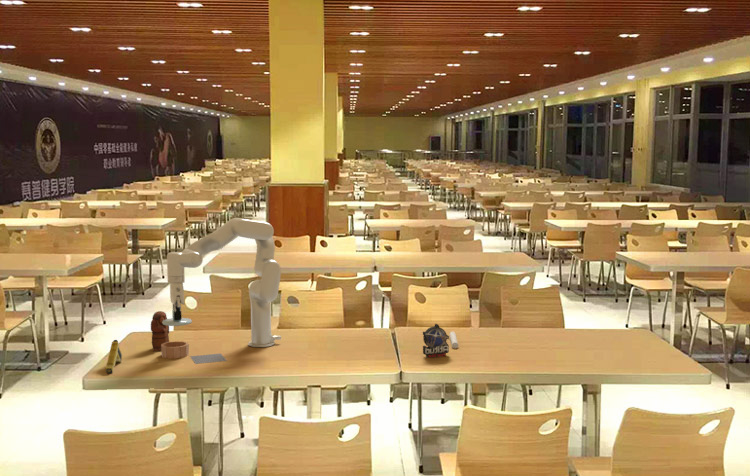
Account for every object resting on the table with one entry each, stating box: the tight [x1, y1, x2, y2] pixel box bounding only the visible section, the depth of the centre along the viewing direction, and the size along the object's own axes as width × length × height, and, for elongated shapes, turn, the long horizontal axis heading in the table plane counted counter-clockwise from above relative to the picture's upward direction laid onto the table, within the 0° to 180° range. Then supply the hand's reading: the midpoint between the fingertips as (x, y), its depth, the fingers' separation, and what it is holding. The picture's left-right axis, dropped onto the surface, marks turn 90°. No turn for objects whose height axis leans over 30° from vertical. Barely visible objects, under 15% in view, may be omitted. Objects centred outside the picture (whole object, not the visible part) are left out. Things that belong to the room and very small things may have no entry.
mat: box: [189, 353, 228, 365], centre depth 375 cm, size 14×14×1 cm
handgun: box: [105, 339, 123, 374], centre depth 361 cm, size 2×19×12 cm
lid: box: [162, 307, 193, 327], centre depth 378 cm, size 13×13×7 cm
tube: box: [449, 331, 459, 349], centre depth 405 cm, size 3×3×25 cm
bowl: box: [160, 340, 190, 360], centre depth 381 cm, size 12×12×6 cm
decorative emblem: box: [422, 323, 450, 359], centre depth 377 cm, size 12×2×15 cm, turn 108°
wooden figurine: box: [150, 310, 170, 352], centre depth 394 cm, size 12×6×18 cm, turn 175°
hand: (177, 318), depth 378 cm, fingers closed on lid, 3 cm apart
